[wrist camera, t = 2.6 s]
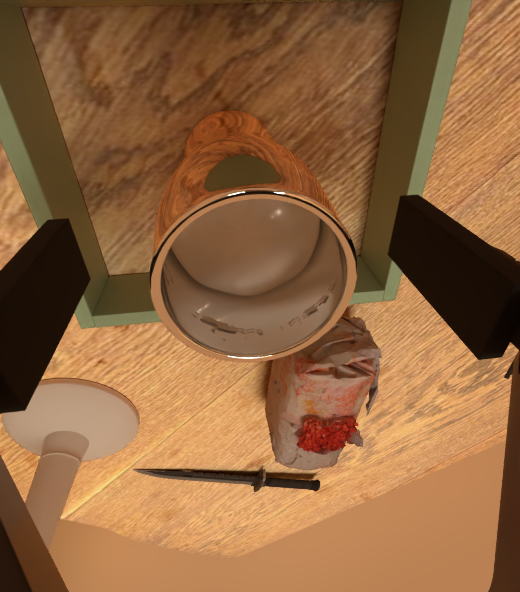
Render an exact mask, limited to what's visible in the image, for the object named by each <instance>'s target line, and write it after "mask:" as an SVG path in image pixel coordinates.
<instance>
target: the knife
mask: <svg viewBox="0 0 520 592" xmlns="http://www.w3.org/2000/svg"><path fill="white" fill-rule="evenodd" d="M134 471H137V472H139V473H142V474H145V475H149V476H154V477H160V478H167V479H178V480H191V481H205V482H219V483H234V484H248V485H251V486H254V492H256V491H258V490H259V489H260V488H261V487H264V486H268V487H282V488H296V489H309V490H314V491H318V490H319V488H320V481H319V480H311V481H310V480H296V479H283V478H267V477H266V472H265V469H262V471H260V473H259V474H258V476H252V477H250V476H243V475H239V476H237V475H230V474H226V475H223V474H216V473H212V474H210V473H203V472H198V473H196V472H187V471H163V470H134Z"/></svg>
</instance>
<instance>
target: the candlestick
mask: <svg viewBox="0 0 520 592" xmlns="http://www.w3.org/2000/svg"><path fill="white" fill-rule="evenodd" d="M2 423H3V426H4V428H5V430H6V431H7V433H8V434H9V435H10V437H11V438H12V439H13V440H14V441H15V442H16V443H18V444H19V445H20V446H22V447H23V448H25V449H26V450H28V451H30V452H32V453H34V454H36V455H39V456H41V458H40V459H39V461H38V466H37V469H36V472H35V475H34V478H33V481H32V484H31V487H30V490H29V493H28V496H27V499H26V502H25V505H26V507H27V509H28V511H29V513H30V515H31V517H32V519H33V521H34V523H35V525H36V527H37V529H38V531H39V533H40V535H41V537H42V539H43V541H44V543H45V545H46V547H47V549H48V550H49V547H50V544H51V541H52V539H53V536H54V534H55V531H56V528H57V525H58V522H59V520H60V517H61V514H62V512H63V509H64V506H65V503H66V501H67V498H68V495H69V492H70V490H71V487H72V484H73V482H74V479H75V476H76V474H77V471H78V468H79V467H80V462H83V461H91V460H97V459H101V458H104V457H107V456H110V455H112V454H114V453H117V452H118V451H120V450H122V449H124V448H125V447H126V446H128V445H129V444H130V443H131V442H132V441H133V440H134V438H135V437H136V434H137V432H138V428H139V415H138V412H137V410H136V408H135V407H134V405H133V404H132V403H131V402H130V401H129V400H128V399H127V398H126V397H125V396H123V395H122V394H120V393H119V392H117V391H115V390H113V389H111V388H109V387H107V386H104V385H101V384H98V383H95V382H91V381H86V380H80V379H67V378H60V379H48V380H42V381H40V382H39V384H38V386H37V388H36V390H35V392H34V394H33V396H32V398H31V400H30V402H29V404H28V406H27V408H26V410H25V411H19V412H10V413H2Z"/></svg>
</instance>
